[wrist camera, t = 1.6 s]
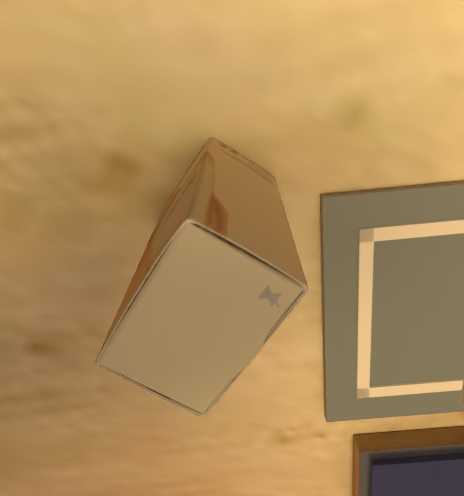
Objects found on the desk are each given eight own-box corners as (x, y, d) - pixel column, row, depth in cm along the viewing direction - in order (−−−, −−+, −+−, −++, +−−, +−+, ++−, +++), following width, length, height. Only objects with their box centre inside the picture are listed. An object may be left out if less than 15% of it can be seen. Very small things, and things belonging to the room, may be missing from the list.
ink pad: (352, 527, 35) (358, 553, 33) (353, 434, 31) (361, 458, 29) (504, 517, 35) (519, 542, 33) (524, 421, 31) (543, 444, 29)
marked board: (324, 415, 30) (327, 423, 30) (320, 194, 24) (323, 198, 23) (559, 397, 30) (566, 404, 29) (616, 165, 24) (628, 168, 23)
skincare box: (209, 133, 23) (190, 203, 12) (277, 177, 24) (320, 281, 13) (151, 230, 25) (86, 368, 14) (215, 267, 26) (204, 424, 15)
